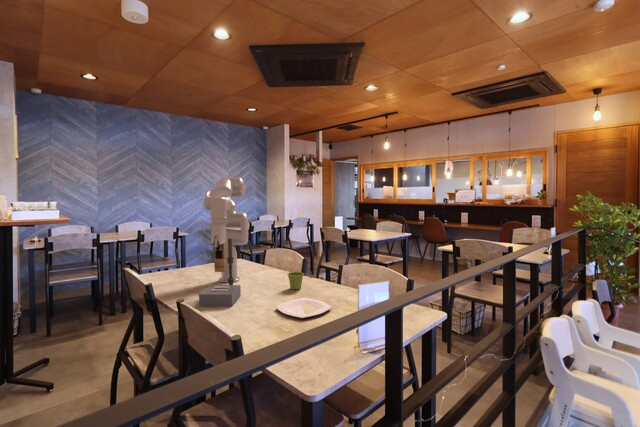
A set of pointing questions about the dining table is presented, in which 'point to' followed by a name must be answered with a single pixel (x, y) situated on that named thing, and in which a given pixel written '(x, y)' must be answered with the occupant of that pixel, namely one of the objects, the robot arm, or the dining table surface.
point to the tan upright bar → (220, 260)
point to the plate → (297, 311)
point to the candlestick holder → (230, 261)
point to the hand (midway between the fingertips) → (219, 257)
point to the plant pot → (295, 279)
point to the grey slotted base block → (220, 296)
